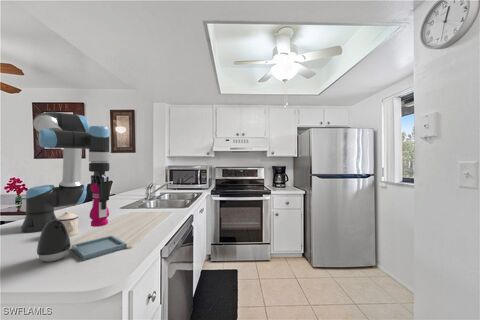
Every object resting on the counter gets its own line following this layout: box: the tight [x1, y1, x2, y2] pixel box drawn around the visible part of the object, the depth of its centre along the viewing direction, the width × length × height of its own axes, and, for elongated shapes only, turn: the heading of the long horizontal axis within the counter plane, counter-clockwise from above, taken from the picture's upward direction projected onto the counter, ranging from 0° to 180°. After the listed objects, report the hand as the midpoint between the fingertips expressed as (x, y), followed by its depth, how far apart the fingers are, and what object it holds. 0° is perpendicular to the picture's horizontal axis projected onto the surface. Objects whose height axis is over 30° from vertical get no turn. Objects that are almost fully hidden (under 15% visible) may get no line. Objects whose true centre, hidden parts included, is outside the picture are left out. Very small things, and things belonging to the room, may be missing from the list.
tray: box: [71, 234, 128, 262], centre depth 97 cm, size 16×16×2 cm
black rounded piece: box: [36, 220, 72, 262], centre depth 88 cm, size 10×10×15 cm
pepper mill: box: [89, 183, 110, 228], centre depth 97 cm, size 7×7×20 cm
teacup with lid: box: [56, 211, 79, 237], centre depth 114 cm, size 12×9×12 cm
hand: (99, 215), depth 97 cm, fingers closed on pepper mill, 7 cm apart
